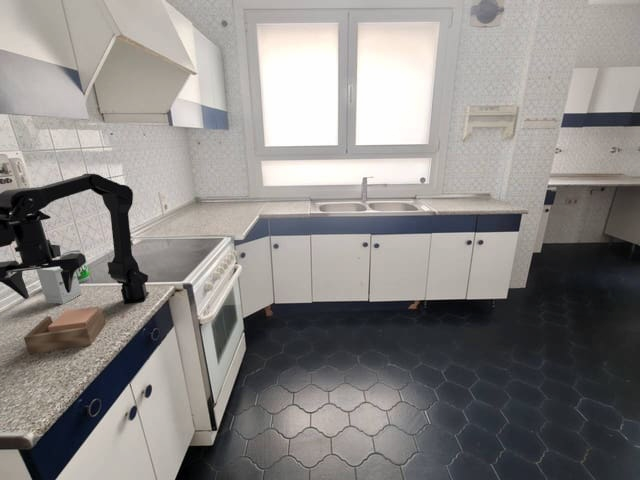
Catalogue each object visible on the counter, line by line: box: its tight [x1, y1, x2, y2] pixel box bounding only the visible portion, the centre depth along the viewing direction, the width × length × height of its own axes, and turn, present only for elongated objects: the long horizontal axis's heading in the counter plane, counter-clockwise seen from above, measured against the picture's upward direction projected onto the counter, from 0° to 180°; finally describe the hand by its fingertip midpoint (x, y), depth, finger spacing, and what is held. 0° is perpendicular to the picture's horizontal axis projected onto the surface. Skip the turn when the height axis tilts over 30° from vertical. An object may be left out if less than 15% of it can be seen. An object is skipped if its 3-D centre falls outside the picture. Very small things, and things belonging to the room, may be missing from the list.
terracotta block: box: [48, 306, 100, 332], centre depth 90 cm, size 9×9×4 cm
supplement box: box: [35, 266, 83, 305], centre depth 107 cm, size 7×7×13 cm
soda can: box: [59, 249, 91, 284], centre depth 121 cm, size 8×8×12 cm
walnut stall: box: [23, 308, 107, 355], centre depth 86 cm, size 14×10×5 cm
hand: (48, 295), depth 82 cm, fingers open, 9 cm apart
